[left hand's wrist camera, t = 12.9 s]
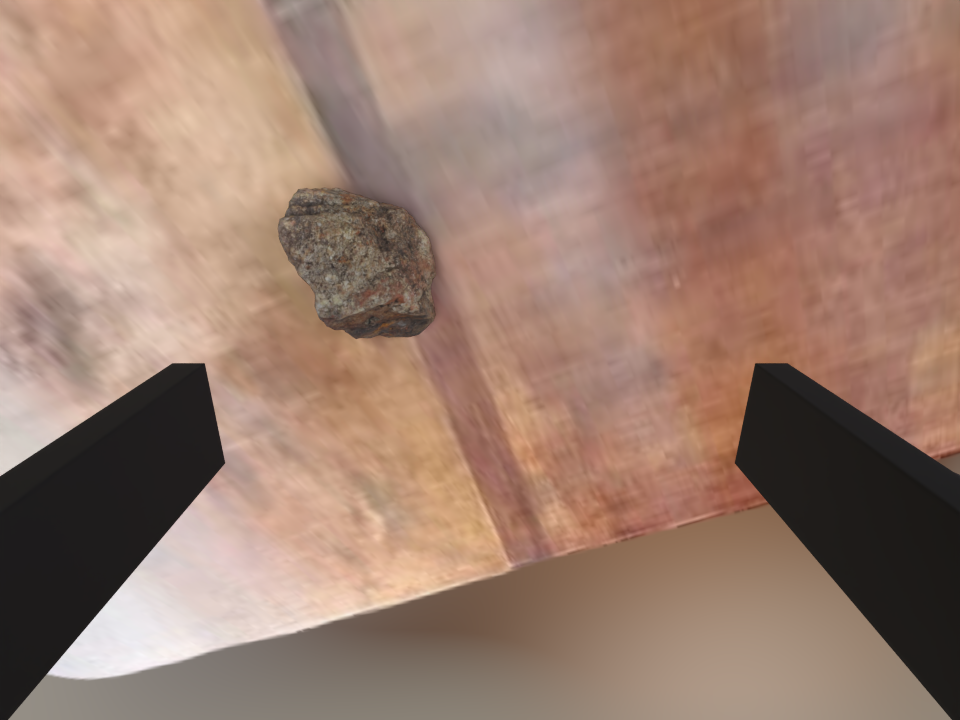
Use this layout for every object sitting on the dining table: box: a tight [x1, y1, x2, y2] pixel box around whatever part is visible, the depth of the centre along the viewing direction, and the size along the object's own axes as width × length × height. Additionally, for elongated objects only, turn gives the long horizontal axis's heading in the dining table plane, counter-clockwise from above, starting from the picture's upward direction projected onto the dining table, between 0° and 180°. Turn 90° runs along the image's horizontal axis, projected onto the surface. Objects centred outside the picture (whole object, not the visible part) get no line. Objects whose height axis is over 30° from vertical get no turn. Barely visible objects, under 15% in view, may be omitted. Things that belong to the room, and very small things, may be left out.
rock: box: [278, 188, 436, 339], centre depth 42 cm, size 14×9×10 cm
